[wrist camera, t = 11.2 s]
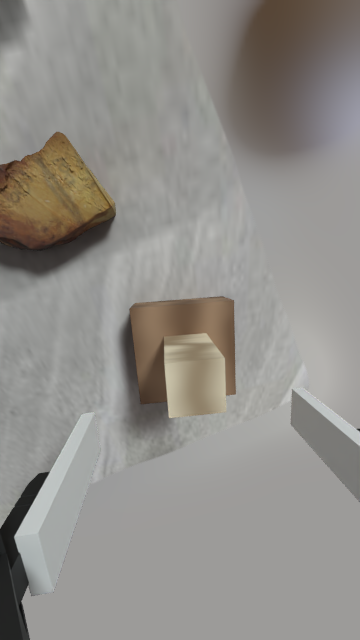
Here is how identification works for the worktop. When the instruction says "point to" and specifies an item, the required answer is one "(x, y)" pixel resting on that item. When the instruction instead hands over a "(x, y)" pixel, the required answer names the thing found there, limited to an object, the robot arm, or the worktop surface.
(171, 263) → the worktop surface
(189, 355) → the oak block
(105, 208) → the stone
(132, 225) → the worktop surface
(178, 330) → the plinth
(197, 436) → the worktop surface
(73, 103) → the worktop surface
